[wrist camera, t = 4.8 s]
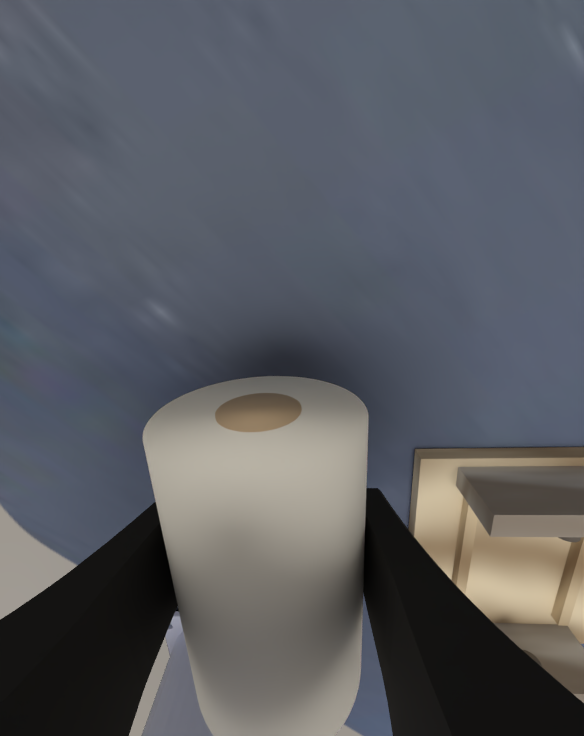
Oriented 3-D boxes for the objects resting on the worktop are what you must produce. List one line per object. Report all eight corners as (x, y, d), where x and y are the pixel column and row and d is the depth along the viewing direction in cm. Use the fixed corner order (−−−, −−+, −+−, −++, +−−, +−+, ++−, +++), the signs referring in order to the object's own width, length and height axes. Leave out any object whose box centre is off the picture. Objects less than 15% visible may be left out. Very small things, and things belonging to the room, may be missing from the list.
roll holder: (580, 627, 21) (648, 716, 17) (400, 622, 22) (422, 707, 18) (639, 446, 17) (749, 505, 13) (415, 449, 18) (448, 505, 14)
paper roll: (349, 573, 12) (377, 774, 7) (220, 572, 12) (166, 763, 8) (352, 372, 10) (396, 475, 5) (191, 376, 10) (84, 477, 5)
